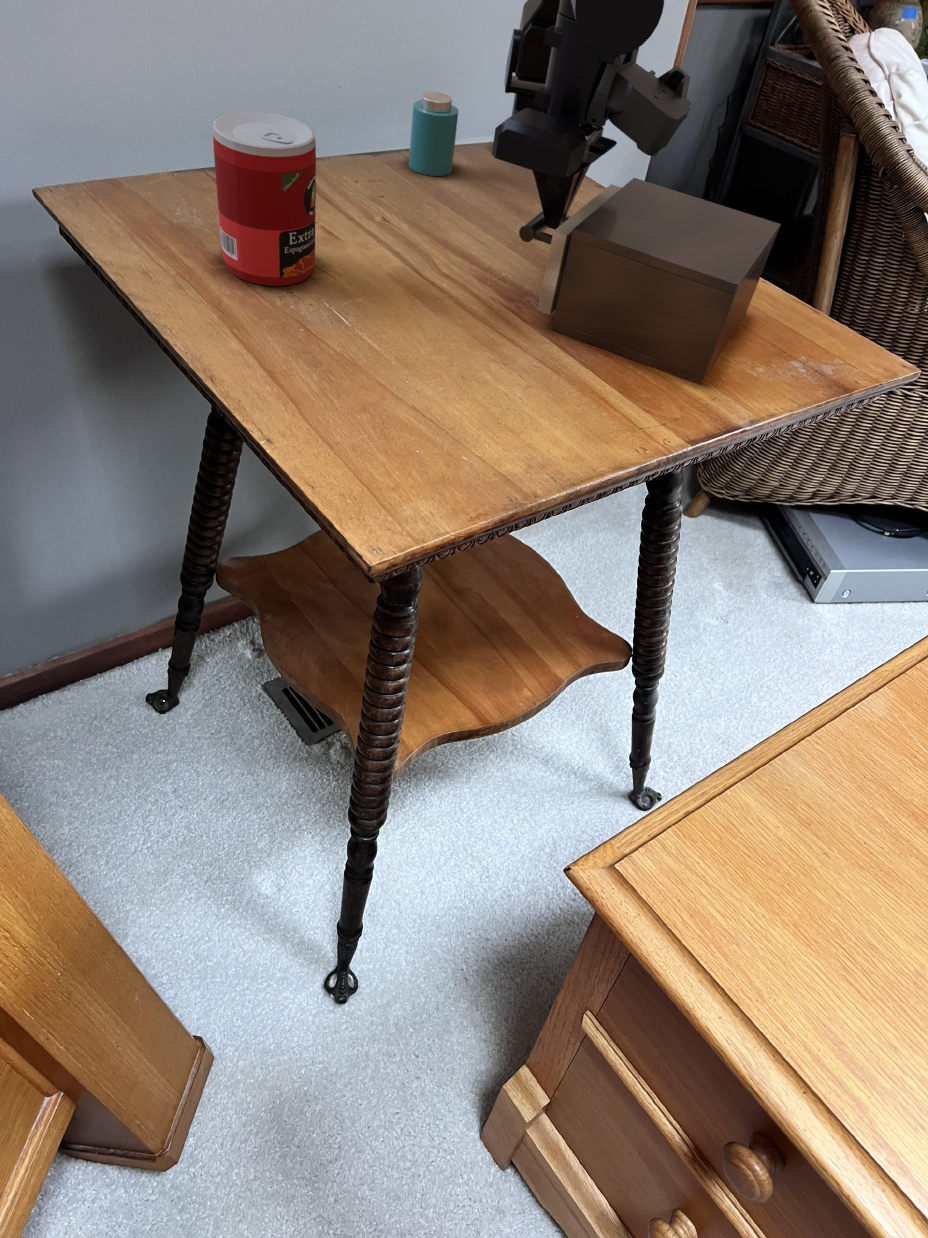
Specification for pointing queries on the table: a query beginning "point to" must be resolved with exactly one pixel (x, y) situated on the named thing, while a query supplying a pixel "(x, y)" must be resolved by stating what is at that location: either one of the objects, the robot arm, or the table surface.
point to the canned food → (266, 196)
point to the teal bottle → (433, 134)
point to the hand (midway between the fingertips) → (553, 227)
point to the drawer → (559, 246)
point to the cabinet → (662, 277)
